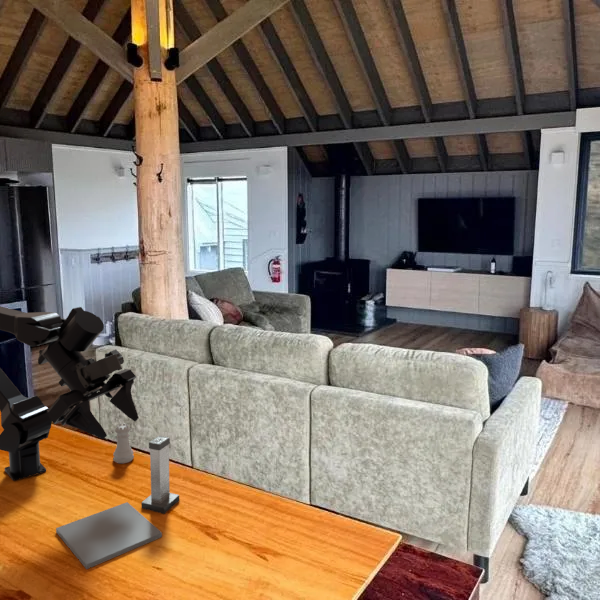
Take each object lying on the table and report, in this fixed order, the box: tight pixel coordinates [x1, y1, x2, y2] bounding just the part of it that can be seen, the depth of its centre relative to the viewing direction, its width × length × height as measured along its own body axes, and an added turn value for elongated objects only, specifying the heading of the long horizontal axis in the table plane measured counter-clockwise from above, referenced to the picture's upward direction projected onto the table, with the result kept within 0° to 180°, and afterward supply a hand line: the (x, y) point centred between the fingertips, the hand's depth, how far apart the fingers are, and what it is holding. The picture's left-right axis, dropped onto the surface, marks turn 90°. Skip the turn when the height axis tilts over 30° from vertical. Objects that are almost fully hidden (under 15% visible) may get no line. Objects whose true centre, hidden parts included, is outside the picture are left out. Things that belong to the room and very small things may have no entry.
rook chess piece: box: [112, 422, 135, 464], centre depth 122 cm, size 4×4×8 cm
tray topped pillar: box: [140, 435, 180, 515], centre depth 103 cm, size 5×5×13 cm
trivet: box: [55, 501, 163, 570], centre depth 95 cm, size 13×13×1 cm
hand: (121, 428), depth 105 cm, fingers open, 9 cm apart
